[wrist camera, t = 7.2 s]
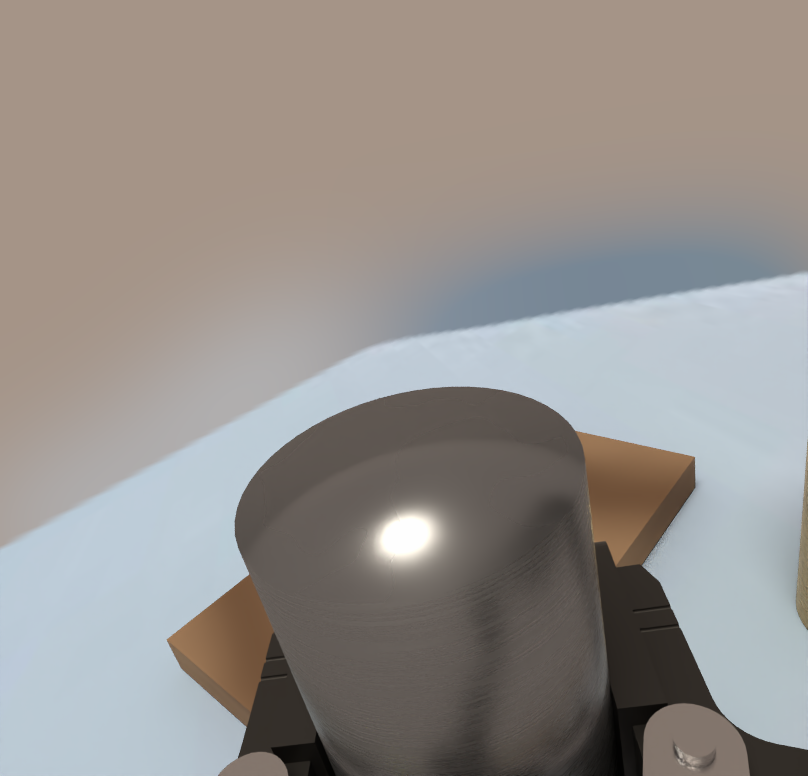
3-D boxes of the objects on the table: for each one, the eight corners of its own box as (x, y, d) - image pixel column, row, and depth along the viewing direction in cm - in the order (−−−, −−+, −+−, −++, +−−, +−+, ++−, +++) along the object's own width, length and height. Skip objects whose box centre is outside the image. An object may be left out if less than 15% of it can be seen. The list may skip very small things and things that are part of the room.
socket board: (467, 430, 35) (454, 364, 33) (695, 486, 27) (694, 403, 25) (181, 668, 24) (139, 588, 22) (422, 883, 16) (386, 784, 14)
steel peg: (498, 787, 16) (394, 370, 11) (677, 908, 13) (648, 417, 8) (380, 963, 14) (169, 522, 8) (572, 1167, 11) (427, 677, 5)
